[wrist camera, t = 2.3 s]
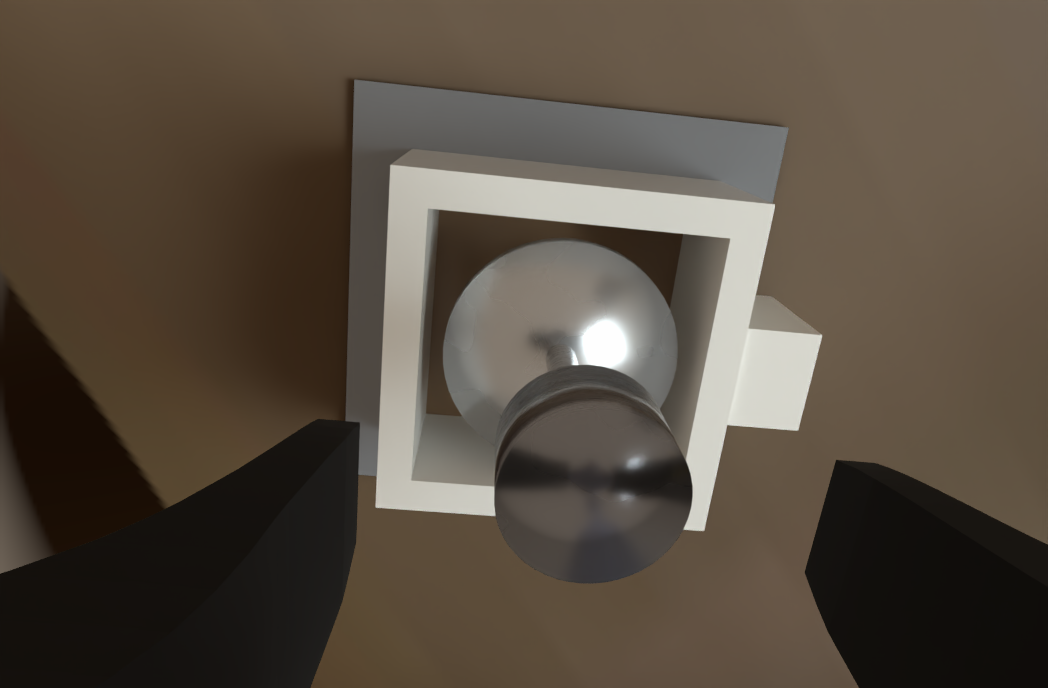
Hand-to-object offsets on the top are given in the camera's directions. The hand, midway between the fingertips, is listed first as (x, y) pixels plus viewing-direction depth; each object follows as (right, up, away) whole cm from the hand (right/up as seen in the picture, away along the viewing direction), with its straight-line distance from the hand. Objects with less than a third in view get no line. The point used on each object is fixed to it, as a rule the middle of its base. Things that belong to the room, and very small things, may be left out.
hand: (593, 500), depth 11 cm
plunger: (0, +2, +6) cm, 7 cm away
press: (0, +3, +9) cm, 10 cm away
